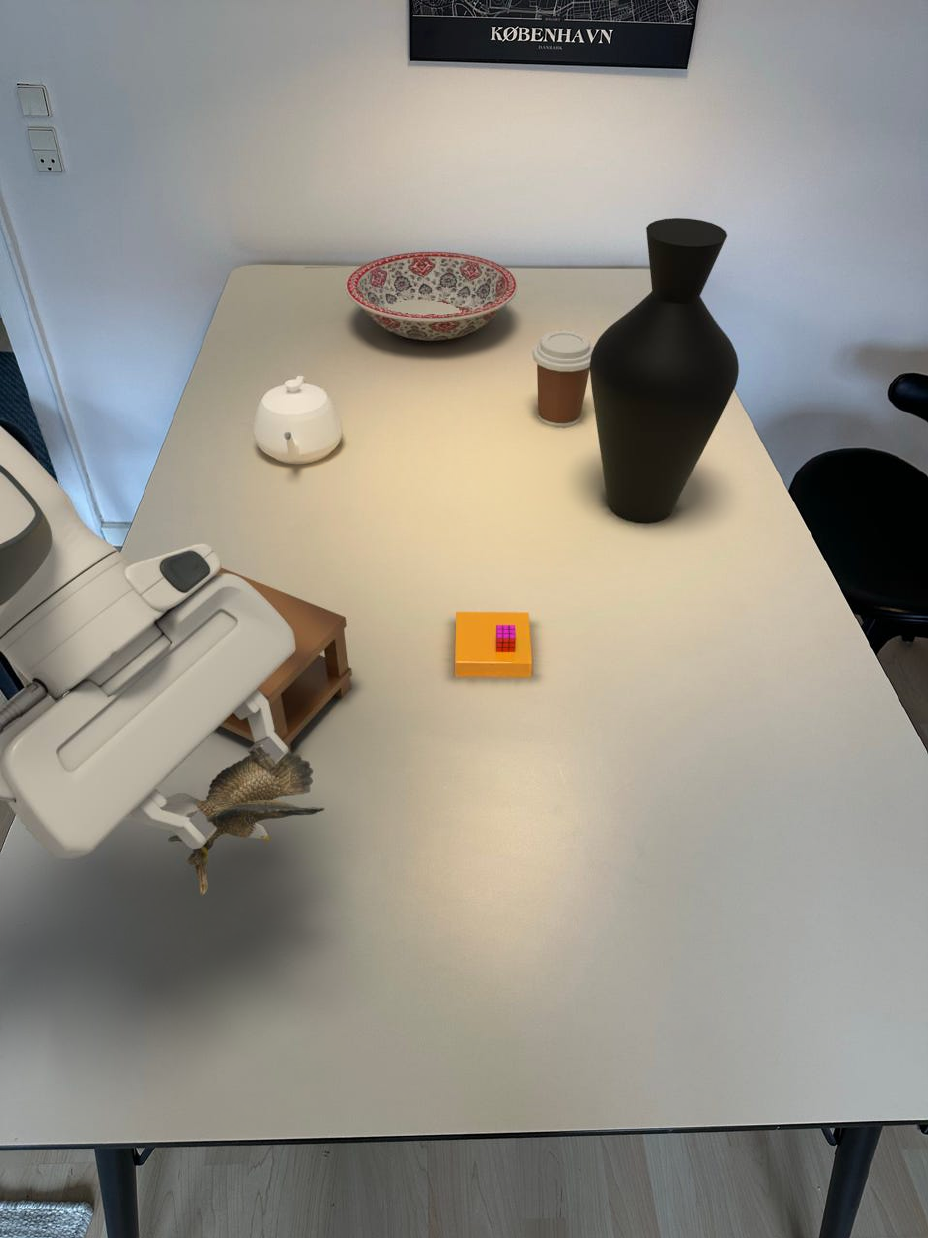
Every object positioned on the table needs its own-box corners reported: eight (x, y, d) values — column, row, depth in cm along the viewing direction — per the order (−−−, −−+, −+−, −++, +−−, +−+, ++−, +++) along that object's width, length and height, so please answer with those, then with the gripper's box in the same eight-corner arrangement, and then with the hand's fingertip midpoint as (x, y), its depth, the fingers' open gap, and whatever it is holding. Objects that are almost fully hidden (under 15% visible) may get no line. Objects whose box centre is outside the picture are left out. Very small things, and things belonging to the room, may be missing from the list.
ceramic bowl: (386, 285, 172) (384, 243, 167) (534, 306, 165) (537, 262, 160) (321, 350, 151) (316, 304, 146) (486, 377, 145) (488, 329, 139)
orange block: (455, 677, 95) (455, 648, 92) (456, 626, 101) (456, 597, 98) (530, 678, 95) (533, 649, 92) (527, 627, 101) (529, 598, 98)
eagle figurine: (242, 913, 59) (347, 827, 58) (165, 883, 54) (281, 788, 53) (211, 826, 64) (308, 746, 64) (139, 790, 59) (244, 703, 58)
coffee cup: (516, 411, 137) (520, 336, 129) (564, 395, 141) (570, 321, 132) (553, 437, 131) (559, 360, 123) (601, 420, 135) (611, 344, 127)
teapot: (340, 488, 121) (333, 420, 114) (247, 489, 121) (235, 422, 114) (347, 413, 136) (341, 350, 129) (264, 414, 135) (254, 351, 129)
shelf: (282, 768, 86) (268, 696, 79) (156, 706, 92) (132, 634, 85) (353, 688, 94) (346, 617, 87) (233, 636, 99) (217, 565, 93)
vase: (733, 511, 118) (803, 236, 94) (644, 562, 110) (697, 275, 86) (635, 456, 128) (677, 194, 104) (547, 499, 119) (571, 226, 96)
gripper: (-43, 739, 46) (144, 927, 49) (225, 530, 59) (359, 688, 62) (-68, 760, 50) (105, 931, 53) (186, 562, 63) (313, 707, 67)
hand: (243, 798), depth 58 cm, fingers closed on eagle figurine, 6 cm apart
